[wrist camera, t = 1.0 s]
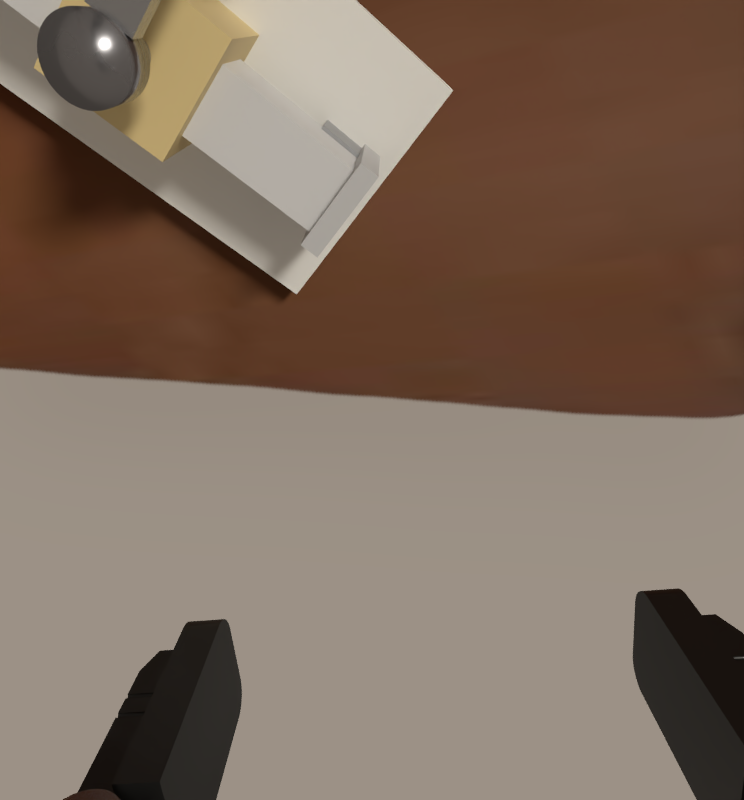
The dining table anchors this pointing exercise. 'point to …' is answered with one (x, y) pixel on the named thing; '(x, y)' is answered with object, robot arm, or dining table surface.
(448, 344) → the dining table surface
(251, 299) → the dining table surface
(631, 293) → the dining table surface
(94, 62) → the lever
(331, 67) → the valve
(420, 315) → the dining table surface
